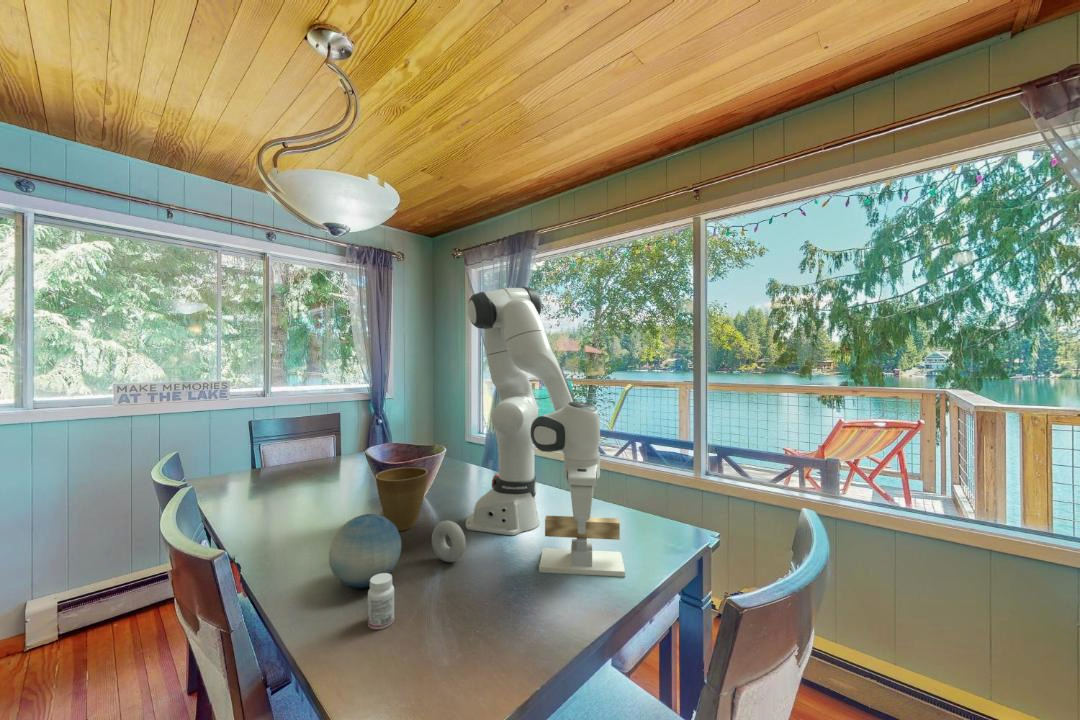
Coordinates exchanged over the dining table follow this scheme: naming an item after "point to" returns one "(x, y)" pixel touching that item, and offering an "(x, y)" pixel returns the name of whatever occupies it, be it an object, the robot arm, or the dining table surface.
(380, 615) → the pill bottle
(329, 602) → the dining table surface
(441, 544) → the donut
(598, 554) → the fulcrum stand
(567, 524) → the pine bar
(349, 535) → the decorative ball
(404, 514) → the plant pot
